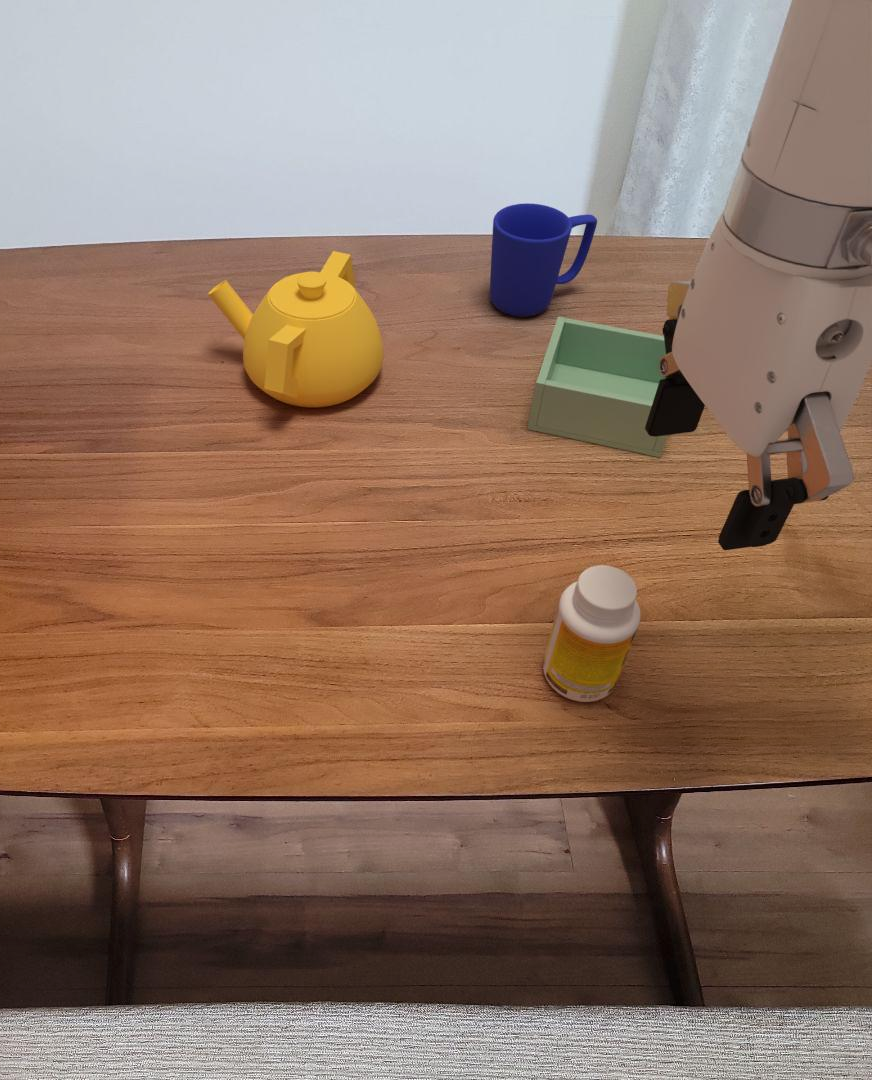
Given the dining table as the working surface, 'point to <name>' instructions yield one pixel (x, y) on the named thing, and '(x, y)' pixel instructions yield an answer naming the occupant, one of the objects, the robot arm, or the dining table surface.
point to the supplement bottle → (592, 634)
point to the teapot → (308, 336)
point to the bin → (599, 386)
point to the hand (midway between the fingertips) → (705, 484)
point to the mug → (532, 256)
